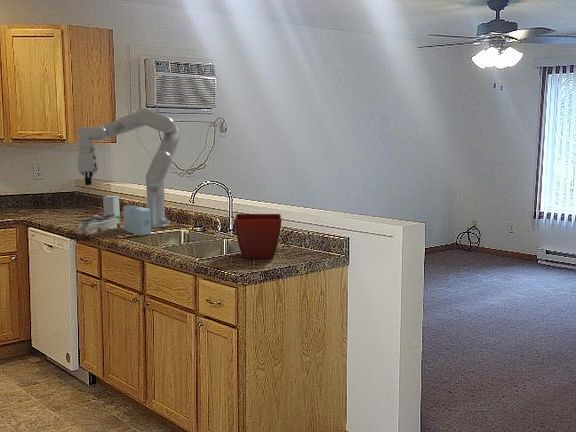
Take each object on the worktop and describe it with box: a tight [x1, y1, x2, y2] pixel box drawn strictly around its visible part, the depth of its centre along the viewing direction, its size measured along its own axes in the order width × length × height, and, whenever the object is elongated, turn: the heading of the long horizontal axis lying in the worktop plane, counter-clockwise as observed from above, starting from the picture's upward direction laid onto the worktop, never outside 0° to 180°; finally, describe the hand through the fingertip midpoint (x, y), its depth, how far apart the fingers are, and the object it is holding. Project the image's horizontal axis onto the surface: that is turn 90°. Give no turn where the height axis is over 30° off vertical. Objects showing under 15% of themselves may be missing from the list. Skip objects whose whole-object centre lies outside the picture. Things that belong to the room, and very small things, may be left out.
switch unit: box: [74, 218, 124, 236], centre depth 364 cm, size 14×26×5 cm, turn 156°
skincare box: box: [102, 195, 121, 223], centre depth 390 cm, size 8×7×16 cm
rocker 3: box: [100, 214, 115, 219], centre depth 371 cm, size 6×4×2 cm, turn 66°
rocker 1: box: [81, 217, 96, 223], centre depth 357 cm, size 6×4×2 cm, turn 66°
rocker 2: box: [91, 214, 106, 221], centre depth 364 cm, size 6×4×2 cm, turn 66°
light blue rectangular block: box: [122, 204, 152, 237], centre depth 356 cm, size 23×6×13 cm, turn 35°
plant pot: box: [234, 213, 282, 259], centre depth 291 cm, size 19×19×17 cm
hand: (88, 184), depth 370 cm, fingers closed
